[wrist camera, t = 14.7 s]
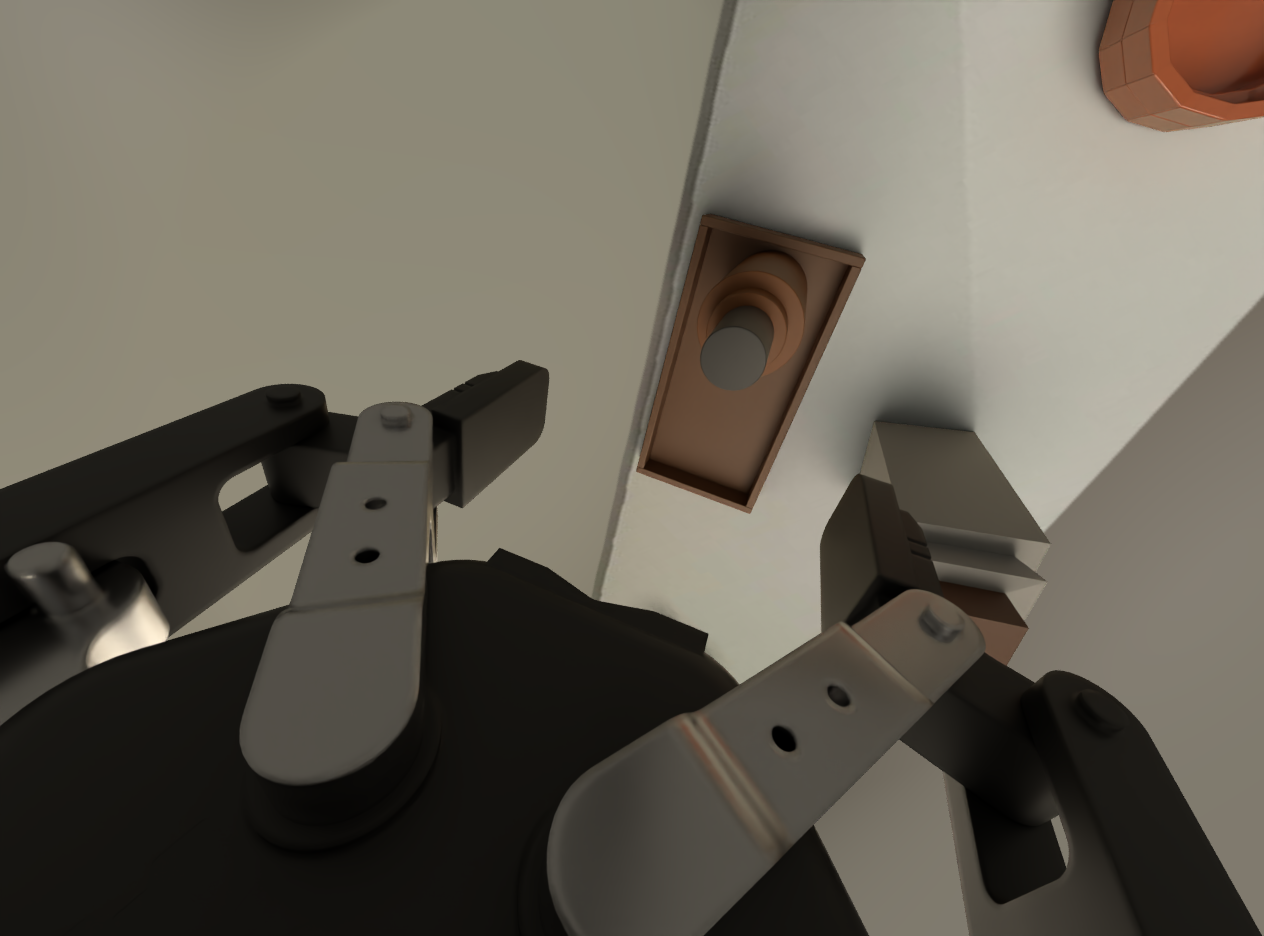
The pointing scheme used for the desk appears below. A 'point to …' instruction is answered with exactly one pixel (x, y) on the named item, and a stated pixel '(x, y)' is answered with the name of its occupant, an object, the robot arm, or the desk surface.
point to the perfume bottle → (965, 525)
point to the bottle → (752, 320)
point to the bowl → (1184, 62)
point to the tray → (752, 417)
